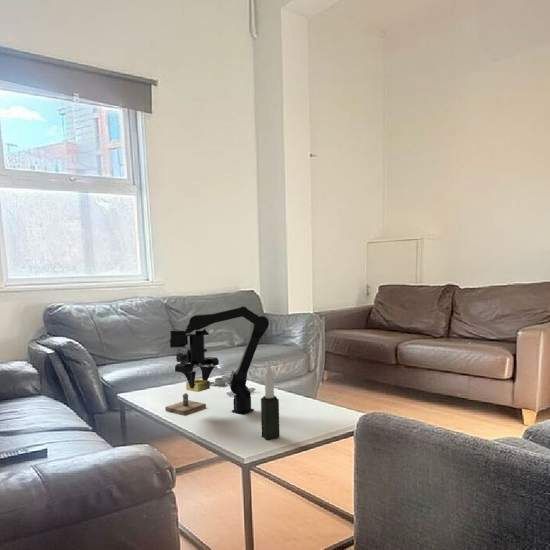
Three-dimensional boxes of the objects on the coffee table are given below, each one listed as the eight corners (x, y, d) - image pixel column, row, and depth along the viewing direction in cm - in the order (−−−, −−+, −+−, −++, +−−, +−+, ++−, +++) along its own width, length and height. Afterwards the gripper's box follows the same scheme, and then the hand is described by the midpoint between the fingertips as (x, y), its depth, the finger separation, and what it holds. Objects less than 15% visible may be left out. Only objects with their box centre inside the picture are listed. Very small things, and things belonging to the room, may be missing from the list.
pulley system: (246, 384, 241) (232, 377, 254) (246, 374, 241) (231, 368, 253) (196, 395, 226) (183, 387, 238) (196, 385, 225) (183, 378, 238)
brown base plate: (206, 407, 198) (205, 392, 198) (184, 415, 188) (183, 398, 188) (187, 403, 205) (187, 388, 205) (165, 410, 195) (165, 394, 195)
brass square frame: (209, 388, 189) (209, 380, 189) (198, 392, 184) (197, 384, 184) (198, 386, 193) (197, 379, 192) (186, 389, 187) (186, 382, 187)
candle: (260, 435, 163) (258, 362, 162) (274, 433, 165) (272, 360, 165) (266, 440, 158) (264, 364, 158) (280, 437, 160) (278, 363, 160)
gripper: (199, 342, 200) (200, 379, 200) (164, 348, 185) (165, 389, 185) (219, 343, 194) (220, 382, 194) (184, 350, 179) (186, 392, 179)
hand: (198, 386), depth 188 cm, fingers closed on brass square frame, 6 cm apart
